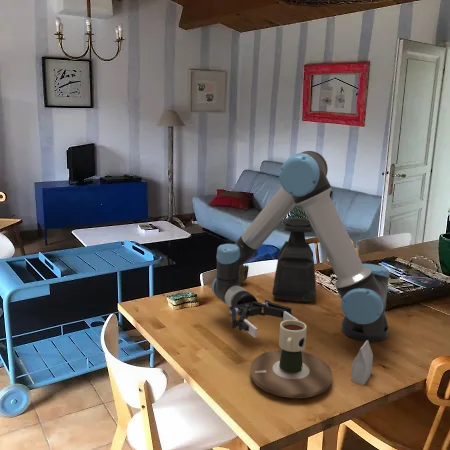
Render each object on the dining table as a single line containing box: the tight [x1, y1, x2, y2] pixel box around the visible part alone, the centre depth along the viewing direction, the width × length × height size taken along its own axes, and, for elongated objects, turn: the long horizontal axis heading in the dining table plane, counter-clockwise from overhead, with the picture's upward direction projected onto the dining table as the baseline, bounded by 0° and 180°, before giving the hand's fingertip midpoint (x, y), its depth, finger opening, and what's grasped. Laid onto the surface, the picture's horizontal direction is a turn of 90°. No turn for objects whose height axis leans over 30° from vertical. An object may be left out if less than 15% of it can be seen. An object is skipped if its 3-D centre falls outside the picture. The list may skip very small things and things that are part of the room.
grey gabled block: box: [350, 340, 374, 386], centre depth 135 cm, size 4×7×10 cm, turn 148°
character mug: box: [278, 319, 308, 373], centre depth 131 cm, size 11×7×13 cm, turn 161°
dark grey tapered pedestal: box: [272, 217, 317, 303], centre depth 189 cm, size 18×16×30 cm
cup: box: [239, 264, 249, 287], centre depth 202 cm, size 8×7×8 cm
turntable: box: [249, 349, 333, 399], centre depth 133 cm, size 22×22×2 cm
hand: (277, 328), depth 137 cm, fingers open, 13 cm apart
